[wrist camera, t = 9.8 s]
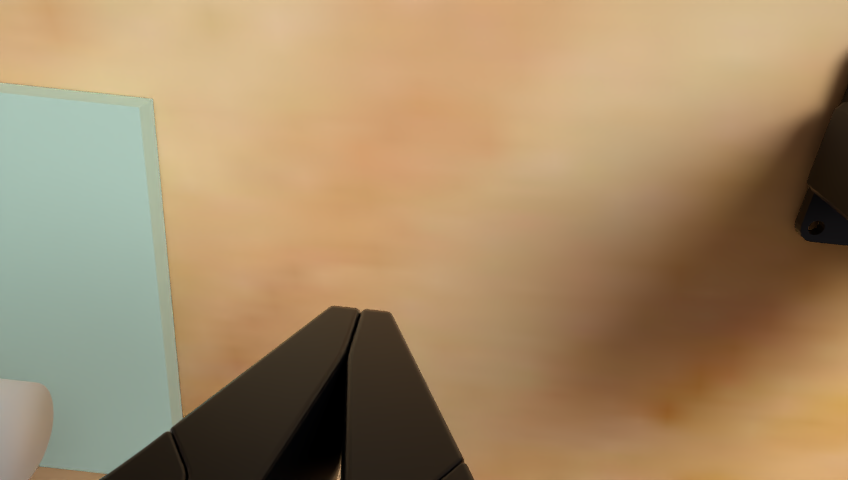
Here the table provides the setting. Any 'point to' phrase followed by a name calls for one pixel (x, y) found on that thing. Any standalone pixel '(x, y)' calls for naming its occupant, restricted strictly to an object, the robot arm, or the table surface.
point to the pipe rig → (82, 283)
